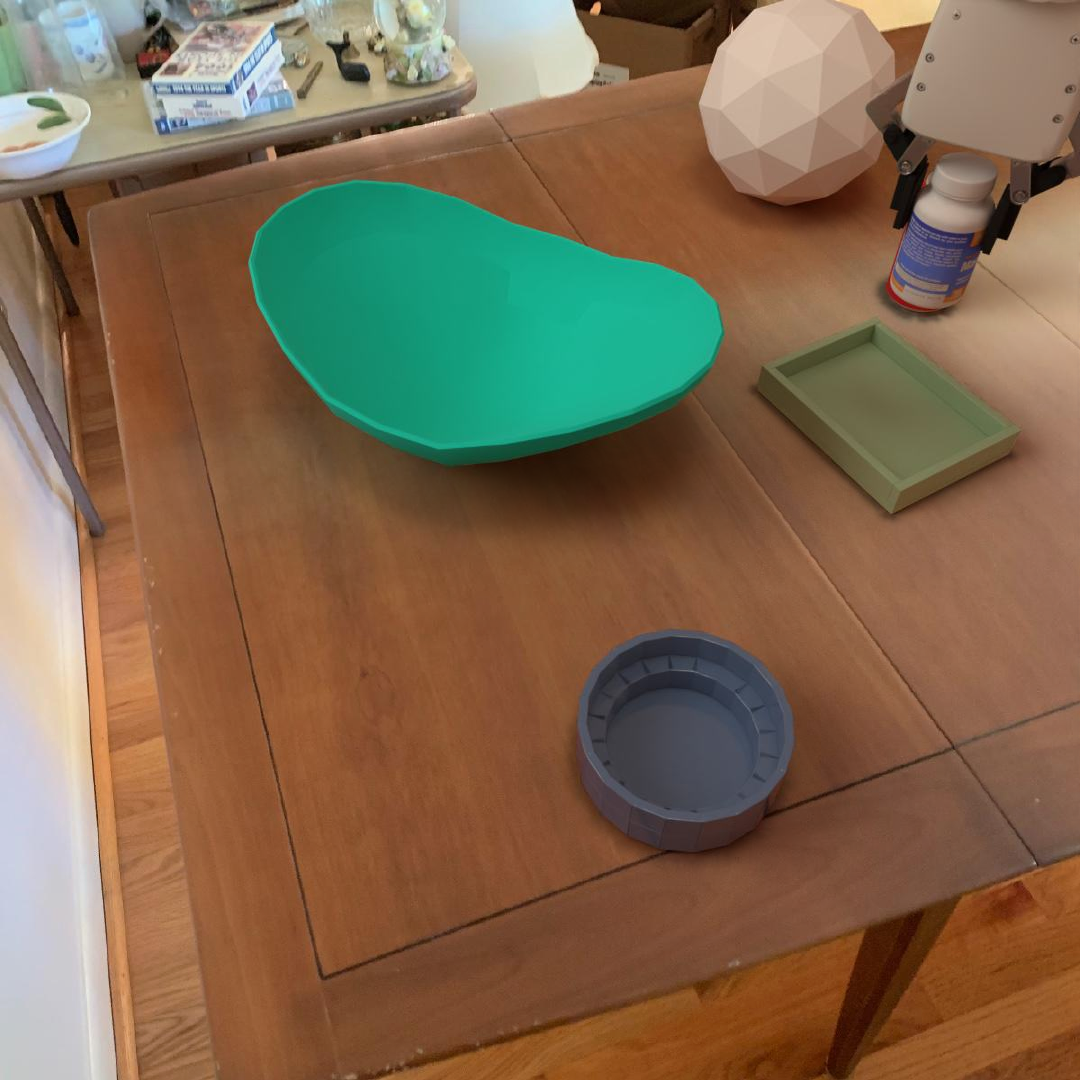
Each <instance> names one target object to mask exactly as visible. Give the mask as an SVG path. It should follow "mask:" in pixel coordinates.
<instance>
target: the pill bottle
mask: <svg viewBox="0 0 1080 1080" xmlns="http://www.w3.org/2000/svg"><path fill="white" fill-rule="evenodd" d="M932 172H933V174H932V180H931V183H929V184H927V185H925V186H924V187H923V188H921V189H920V191H919V192H918V193H917V195H916V197H915V200H914V203H913V206H912V209H911V213H910V216H909V220H908V223H907V226H906V229H905V233H904V236H903V239H902V243H901V246H900V249H899V252H898V256H897V259H896V262H895V265H894V268H893V271H892V275H891V279H890V284H891V287H892V289H893V291H894V292H895V293H896V295H898V296H899V297H900V298H901V299H903V300H904V301H906V302H908V303H910V304H913V305H915V306H919V307H923V308H930V309H939V308H942V309H945V308H949V307H951V306H954V305H955V304H957V303H959V301H960V300H962V298H963V296H965V295H964V294H965V293H966V290H967V288H968V286H969V284H970V280H971V278H972V275H973V273H974V270H975V267H976V265H977V263H978V261H979V260H978V259H979V258H980V254H981V253H982V251H980V248H981V245H982V243H983V240H984V238H985V235H986V233H987V230H988V228H989V225H990V223H991V220H992V218H993V215H994V212H995V210H996V207H997V206H996V203H995V200H994V198H993V197H992V196H991V195H992V192H993V190H994V189H995V187H996V186H995V184H996V182H997V179H998V175H999V168H998V167H997V165H996V164H995V162H993V160H991V159H989V158H987V157H986V156H984V155H981V154H977V153H973V152H968V151H967V152H966V151H955V152H950V153H946V154H944V155H942V156H941V157H940V158H938V159H937V162H936V164H935V166H934V168H933V171H932ZM939 310H940V309H939Z"/></svg>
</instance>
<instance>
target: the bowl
mask: <svg viewBox="0 0 1080 1080" xmlns="http://www.w3.org/2000/svg"><path fill="white" fill-rule="evenodd" d="M576 722H577V724H576V726H577V727H576V744H575V745H576V748H575V757H576V758H575V759H576V763H577V767H578V770H579V775H580V779H581V782H582V786H583V788H584V790H585V792H586V793H587V795H588V796H589V798H590V799H591V801H592V803H593V804H594V805H595V807H596V809H597V810H598V811H599V813H600V814H601V815H602V816H603V817H604V818H605V819H606V820H608V822H610V823H611V824H612V825H613V826H615V827H616V828H617V829H619V830H620V831H621V832H622V833H624V835H626V836H628V837H630V838H633V839H635V840H637V841H639V842H642V843H645V844H647V845H649V846H652V847H654V848H656V849H659V850H666V851H676V852H688V853H697V852H702V851H706V850H711V849H715V848H720V847H725V846H728V845H729V844H731V843H733V842H735V841H737V840H738V839H739V838H742V836H744V835H746V834H747V833H750V832H751V831H752V830H754V829H755V828H756V827H757V826H758V825H759V823H760V822H761V821H762V819H763V818H764V817H765V816H766V814H767V813H768V812H769V810H770V809H772V806H773V805H774V804H775V801H776V798H777V796H778V793H779V791H780V789H781V786H782V784H783V782H784V779H785V778H786V775H787V772H788V768H789V765H790V761H791V759H792V756H793V752H794V749H795V746H796V740H795V724H794V723H795V722H794V713H793V710H792V708H791V705H790V702H789V700H788V698H787V696H786V694H785V691H784V689H783V687H782V684H781V683H780V682H779V681H778V680H777V678H775V676H774V675H773V674H772V672H770V670H769V669H768V668H767V667H766V665H765V664H764V663H763V662H762V661H761V660H760V659H759V658H757V657H756V656H754V655H753V654H751V653H750V652H748V651H747V650H745V649H744V648H743V647H741V646H740V645H738V644H736V643H735V642H733V641H731V640H729V639H725V638H723V637H719V636H717V635H713V634H711V633H708V632H705V631H703V630H702V631H701V630H689V629H688V630H687V629H677V628H668V629H663V630H658V631H652V632H647V633H642V634H638V635H636V636H634V637H632V638H630V639H628V640H626V641H624V642H622V643H621V644H619V645H617V646H615V647H613V648H612V649H611V650H610V651H609V652H608V653H607V654H605V656H604V657H602V659H601V660H599V662H598V663H597V664H596V665H594V666H593V668H592V669H591V670H590V673H589V675H588V678H587V679H586V682H585V683H584V685H583V687H582V690H581V692H580V694H579V701H578V713H577V721H576Z"/></svg>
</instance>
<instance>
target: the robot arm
mask: <svg viewBox="0 0 1080 1080" xmlns="http://www.w3.org/2000/svg"><path fill="white" fill-rule="evenodd" d="M901 103H903V105H902V109H901V115H900V111H899V110H898V108H897V106H898V105H900V104H901ZM866 113H867V114H868V116H869V117H870V118H871V120H872V121H873V123H874V124H875V126H876V127H877V129H878V130H880V131H881V132H882V134H883V139H884V144H885V145H886V147H887V149H888V150H889V152H890V153H891V155H892V156H893V158H894V160H895V161H896V165H895V167H896V171H897V172H898V173H899V175H898V178H897V181H896V185H895V188H894V190H893V191H894V192H893V195H892V197H891V202H890V205H889V209H890V210H894V211H897V212H896V215H895V218H894V221H893V225H892V229H894V230H898V231H900V230H901V229H902V230H904V228H905V225H906V223H907V222H908V220H909V216H910V213H911V209H912V206H913V203H914V200H915V197H916V195H917V193H918V192H919V191H920V189H921V188H922V185H923V183H924V182H925V178H926V175H927V172H928V169H929V167H930V162H928V160H929V157H928V155H927V154H928V152H929V151H930V149H931V148H932V147H933V145H934V144H935V142H936V141H937V142H940V143H945V144H948V145H953V146H957V147H960V148H965V149H969V150H973V151H977V152H980V153H981V152H982V153H985V154H989V155H993V156H996V157H1002V158H1005V159H1010V163H1009V164H1010V168H1009V169H1010V170H1009V171H1010V172H1009V175H1010V176H1009V182H1008V183H1007V184H1006V186H1005V188H1004V190H1003V193H1002V194H1001V196H1000V198H999V200H998V203H997V205H996V206H995V207H996V210H995V212H994V215H993V218H992V220H991V223H990V225H989V228H988V230H987V233H986V235H985V238H984V240H983V243H982V245H981V248H980V251H981V253H982V255H983V254H984V255H987V256H990V255H991V253H992V251H993V249H994V246H995V244H996V242H997V240H998V239H999V240H1002V241H1006V242H1007V241H1008V240H1009V237H1010V236H1011V234H1012V231H1013V229H1014V226H1015V224H1016V221H1017V219H1018V217H1019V214H1020V212H1021V209H1022V207H1023V205H1025V204H1027V203H1028V202H1029V200H1030V199H1031V198H1033V197H1036V196H1038V195H1040V194H1043V193H1045V192H1047V191H1050V190H1052V189H1054V188H1056V187H1058V186H1060V185H1062V184H1063V183H1064V182H1065V181H1068V180H1070V179H1071V180H1073V179H1075V178H1078V177H1080V0H940V2H939V4H938V5H937V9H936V11H935V13H934V16H933V17H932V21H931V23H930V26H929V28H928V31H927V34H926V37H925V40H924V42H923V45H922V48H921V50H920V53H919V55H918V59H917V62H916V64H915V66H913V67H912V68H911V69H909V70H908V71H906V72H905V73H903V74H902V75H901V76H899V77H898V78H895V81H893V82H892V83H891V84H889V85H888V86H886V87H885V88H883V89H882V90H881V91H879V92H878V93H876V94H875V95H874V96H873V97H872V98H871V99H870V101H869V102H868V104H867V105H866ZM1068 139H1069V141H1070V144H1071V146H1072V149H1073V151H1072V152H1069V153H1067V154H1066V155H1064V156H1063V155H1062V156H1061V155H1060V156H1059V154H1060V152H1061V151H1062V149H1063V148H1064V145H1065V143H1066V142H1067V140H1068Z"/></svg>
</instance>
